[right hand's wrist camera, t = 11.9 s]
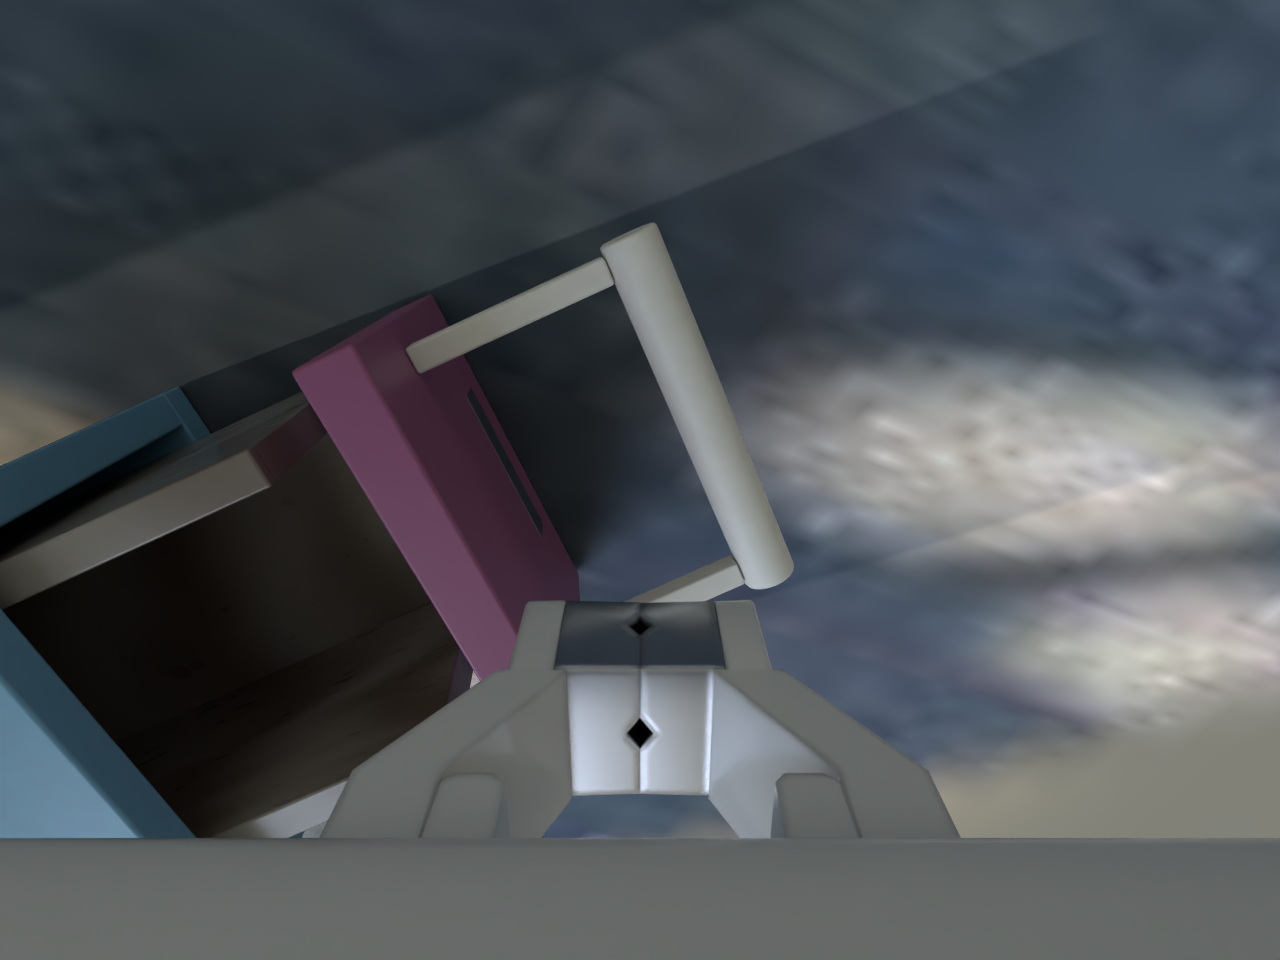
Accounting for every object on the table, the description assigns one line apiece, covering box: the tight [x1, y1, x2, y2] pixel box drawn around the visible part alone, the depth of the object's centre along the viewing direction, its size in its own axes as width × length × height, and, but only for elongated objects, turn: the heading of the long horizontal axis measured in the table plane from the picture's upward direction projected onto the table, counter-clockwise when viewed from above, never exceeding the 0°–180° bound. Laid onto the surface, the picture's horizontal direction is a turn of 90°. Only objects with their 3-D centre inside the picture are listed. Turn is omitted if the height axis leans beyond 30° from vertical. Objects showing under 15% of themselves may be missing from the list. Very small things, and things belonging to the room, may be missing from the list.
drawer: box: [0, 223, 794, 838], centre depth 19 cm, size 22×10×9 cm, turn 113°
